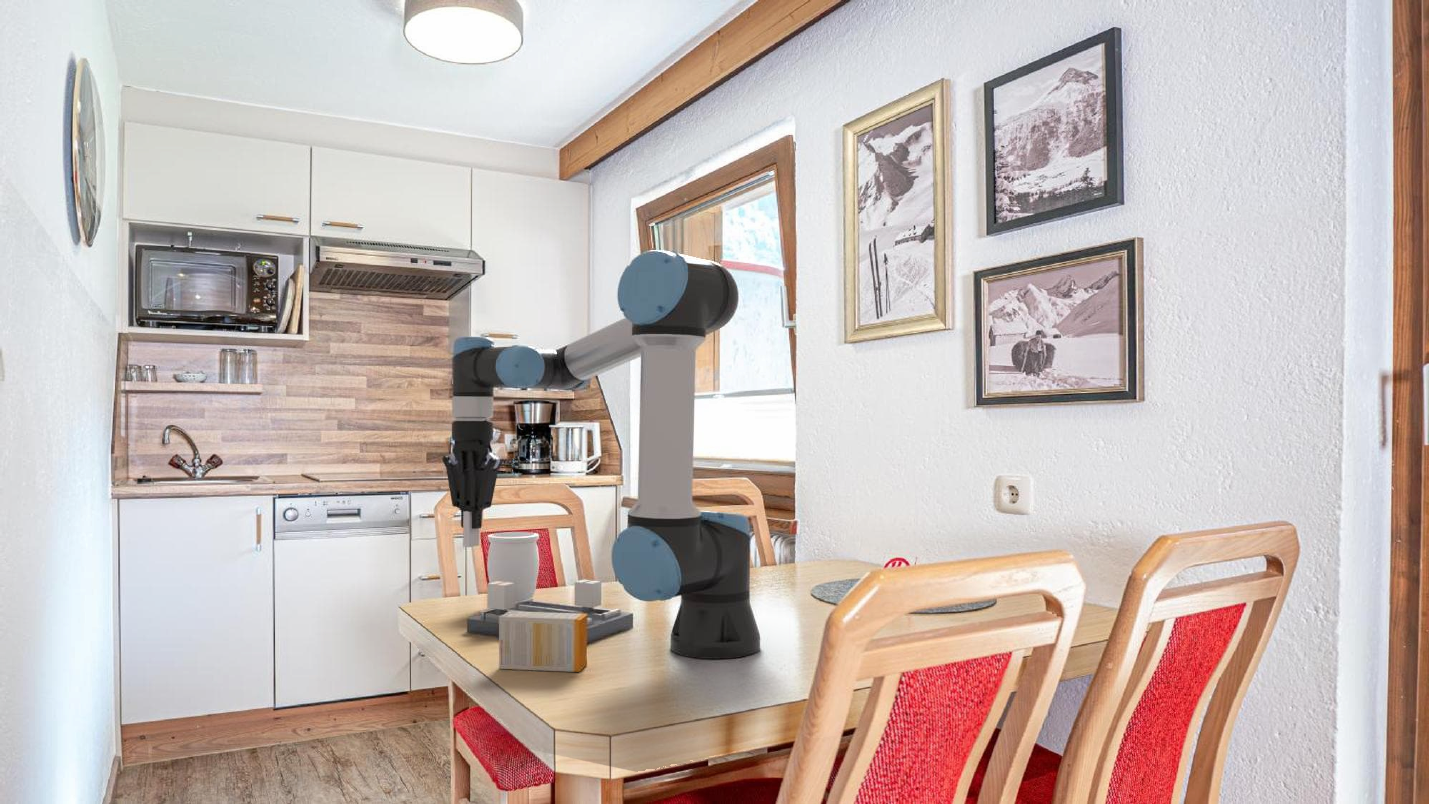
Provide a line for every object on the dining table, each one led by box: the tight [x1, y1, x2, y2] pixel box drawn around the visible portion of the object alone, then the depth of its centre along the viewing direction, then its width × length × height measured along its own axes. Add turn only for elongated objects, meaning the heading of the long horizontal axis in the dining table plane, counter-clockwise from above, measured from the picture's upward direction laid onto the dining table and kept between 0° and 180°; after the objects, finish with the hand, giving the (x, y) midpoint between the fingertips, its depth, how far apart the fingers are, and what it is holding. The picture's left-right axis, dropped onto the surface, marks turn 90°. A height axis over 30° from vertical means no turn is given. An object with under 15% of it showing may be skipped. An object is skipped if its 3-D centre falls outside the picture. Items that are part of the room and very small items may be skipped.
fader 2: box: [574, 579, 602, 613], centre depth 173 cm, size 4×3×6 cm
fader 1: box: [486, 581, 515, 615], centre depth 171 cm, size 4×3×6 cm
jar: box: [486, 531, 540, 603], centre depth 191 cm, size 11×10×15 cm
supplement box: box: [498, 611, 588, 673], centre depth 145 cm, size 8×5×13 cm
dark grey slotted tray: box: [466, 598, 634, 644], centre depth 171 cm, size 24×18×4 cm
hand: (471, 545), depth 174 cm, fingers closed
